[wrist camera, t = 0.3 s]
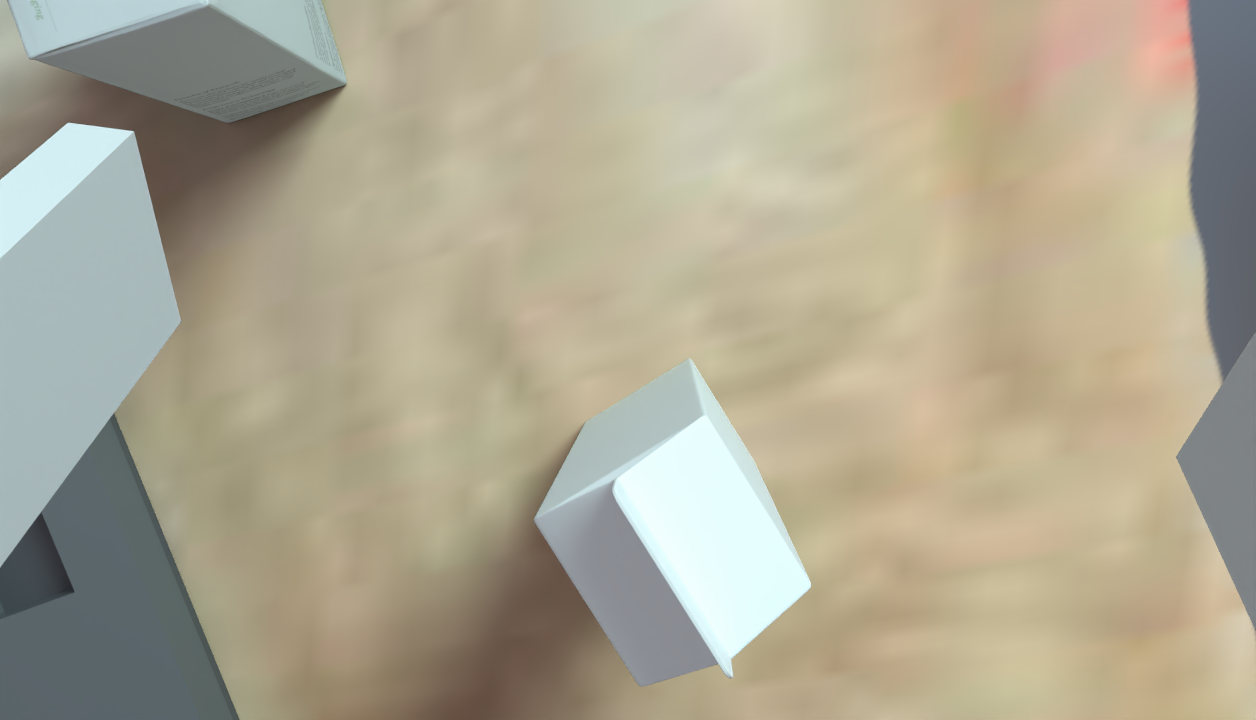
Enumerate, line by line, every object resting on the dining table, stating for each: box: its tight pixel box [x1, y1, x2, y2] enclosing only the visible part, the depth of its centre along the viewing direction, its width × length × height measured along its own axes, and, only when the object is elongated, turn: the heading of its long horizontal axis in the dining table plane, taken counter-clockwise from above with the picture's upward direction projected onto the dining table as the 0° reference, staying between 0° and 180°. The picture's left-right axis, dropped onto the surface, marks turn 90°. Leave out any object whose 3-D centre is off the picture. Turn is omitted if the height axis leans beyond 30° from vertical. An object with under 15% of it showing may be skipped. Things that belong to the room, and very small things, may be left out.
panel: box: [0, 413, 239, 720], centre depth 48 cm, size 30×12×3 cm, turn 20°
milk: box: [534, 359, 811, 686], centre depth 37 cm, size 6×6×22 cm
